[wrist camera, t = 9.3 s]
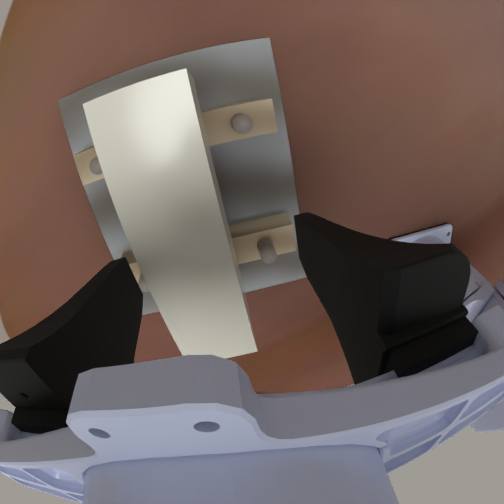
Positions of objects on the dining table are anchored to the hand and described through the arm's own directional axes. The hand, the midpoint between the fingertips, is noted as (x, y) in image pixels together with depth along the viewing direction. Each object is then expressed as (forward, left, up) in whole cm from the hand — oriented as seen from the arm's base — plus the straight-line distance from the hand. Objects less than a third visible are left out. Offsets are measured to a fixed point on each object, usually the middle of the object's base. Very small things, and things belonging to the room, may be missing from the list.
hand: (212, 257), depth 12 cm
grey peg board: (0, +1, -9) cm, 9 cm away
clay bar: (0, +1, -6) cm, 6 cm away
